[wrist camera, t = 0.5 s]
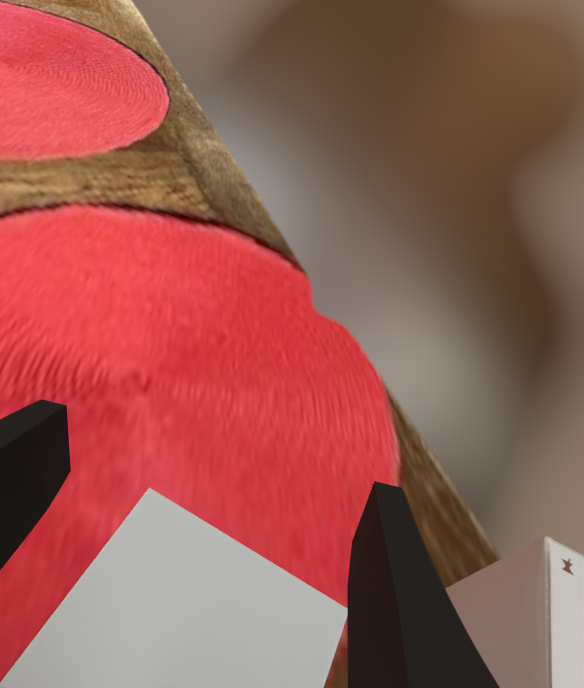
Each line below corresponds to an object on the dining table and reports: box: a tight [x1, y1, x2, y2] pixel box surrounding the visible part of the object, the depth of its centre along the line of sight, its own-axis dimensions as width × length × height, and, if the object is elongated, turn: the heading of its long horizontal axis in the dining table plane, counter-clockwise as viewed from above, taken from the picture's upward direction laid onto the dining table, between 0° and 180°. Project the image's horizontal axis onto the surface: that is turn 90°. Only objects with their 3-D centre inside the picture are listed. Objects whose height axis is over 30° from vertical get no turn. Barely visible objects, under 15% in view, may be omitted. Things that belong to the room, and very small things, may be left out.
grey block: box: [0, 488, 348, 688], centre depth 22 cm, size 12×12×4 cm
